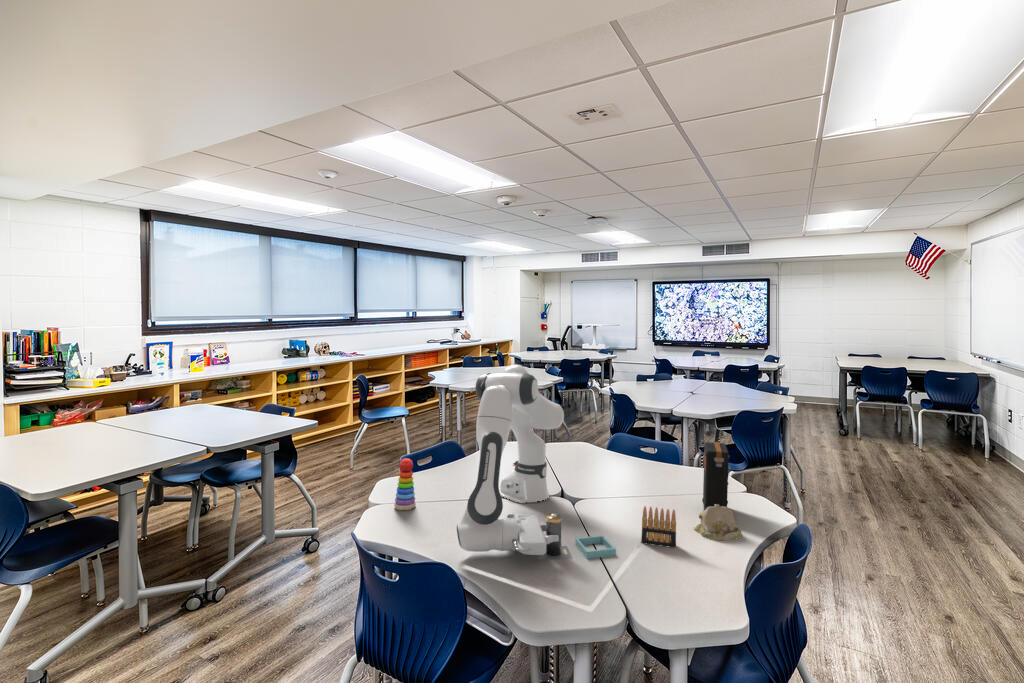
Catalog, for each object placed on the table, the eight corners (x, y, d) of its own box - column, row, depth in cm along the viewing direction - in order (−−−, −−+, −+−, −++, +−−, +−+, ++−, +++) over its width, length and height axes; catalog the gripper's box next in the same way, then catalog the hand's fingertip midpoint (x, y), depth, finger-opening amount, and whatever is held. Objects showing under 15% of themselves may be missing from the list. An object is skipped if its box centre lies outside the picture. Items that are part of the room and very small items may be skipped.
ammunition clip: (676, 545, 155) (676, 508, 155) (676, 547, 153) (677, 510, 153) (641, 540, 158) (642, 504, 158) (641, 543, 156) (641, 506, 156)
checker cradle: (539, 562, 143) (539, 559, 143) (535, 550, 151) (535, 546, 151) (572, 561, 144) (572, 557, 144) (566, 548, 152) (566, 545, 152)
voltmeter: (729, 521, 174) (731, 452, 172) (703, 518, 176) (705, 450, 175) (725, 506, 188) (727, 442, 187) (701, 503, 191) (703, 440, 190)
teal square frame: (586, 561, 144) (586, 552, 144) (575, 547, 153) (575, 538, 153) (615, 558, 146) (615, 548, 146) (602, 544, 155) (603, 535, 155)
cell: (543, 553, 147) (543, 515, 146) (550, 547, 151) (550, 510, 150) (556, 557, 144) (557, 518, 144) (563, 551, 148) (564, 513, 148)
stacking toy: (398, 512, 179) (398, 462, 179) (391, 505, 186) (391, 457, 185) (418, 508, 184) (418, 459, 183) (411, 501, 190) (410, 454, 190)
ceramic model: (701, 540, 159) (702, 510, 159) (690, 525, 170) (691, 497, 170) (745, 541, 158) (746, 511, 158) (731, 527, 170) (732, 498, 169)
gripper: (514, 539, 136) (563, 538, 137) (508, 511, 156) (550, 509, 157) (514, 562, 136) (563, 560, 137) (508, 530, 156) (550, 528, 157)
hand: (556, 532), depth 147 cm, fingers closed on cell, 5 cm apart
